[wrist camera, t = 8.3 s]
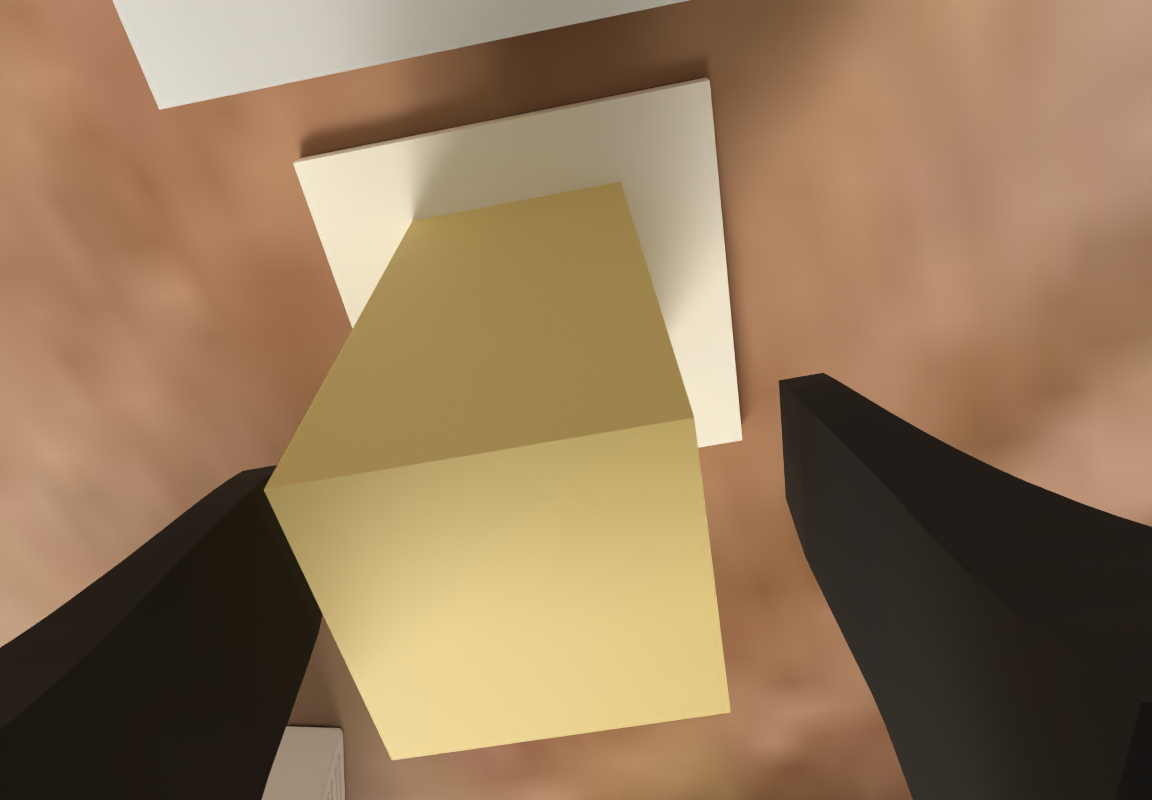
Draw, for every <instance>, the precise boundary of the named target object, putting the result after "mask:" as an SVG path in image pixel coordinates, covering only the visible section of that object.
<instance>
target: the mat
mask: <svg viewBox="0 0 1152 800" xmlns="http://www.w3.org/2000/svg"><path fill="white" fill-rule="evenodd" d="M293 164H294V167H295V170H296V172H297V175H298V178H299V181H300V184H301V186H302V189H303V192H304V195H305V198H306V200H307V203H308V206H309V209H310V211H311V214H312V217H313V220H314V223H315V225H316V228H317V231H318V234H319V236H320V239H321V242H322V245H323V248H324V250H325V253H326V256H327V259H328V262H329V264H330V267H331V270H332V273H333V275H334V278H335V281H336V284H337V287H338V289H339V292H340V295H341V298H342V301H343V303H344V306H345V309H346V312H347V314H348V317H349V320H350V323H351V326H352V328H353V327H354V325H355V324H356V322H357V320H358V318H359V316H360V315H361V313H362V311H363V309H364V307H365V305H366V304H367V302H368V300H369V298H370V296H371V295H372V293H373V291H374V289H375V287H376V286H377V284H378V282H379V280H380V278H381V276H382V275H383V273H384V271H385V269H386V267H387V266H388V264H389V262H390V260H391V258H392V257H393V255H394V253H395V251H396V249H397V248H398V246H399V244H400V242H401V240H402V238H403V237H404V235H405V233H406V231H407V229H408V228H409V226H410V224H411V222H412V221H415V220H420V219H425V218H431V217H436V216H441V215H446V214H452V213H457V212H462V211H468V210H473V209H478V208H483V207H489V206H494V205H499V204H505V203H510V202H515V201H520V200H526V199H531V198H536V197H542V196H547V195H552V194H557V193H563V192H568V191H573V190H578V189H584V188H589V187H594V186H600V185H605V184H610V183H615V182H621V184H622V188H623V191H624V194H625V197H626V200H627V204H628V207H629V210H630V213H631V216H632V220H633V223H634V226H635V229H636V232H637V236H638V239H639V242H640V245H641V248H642V252H643V255H644V258H645V261H646V264H647V268H648V271H649V274H650V277H651V280H652V284H653V287H654V290H655V293H656V296H657V300H658V303H659V306H660V309H661V312H662V316H663V319H664V322H665V325H666V328H667V332H668V335H669V338H670V341H671V344H672V348H673V351H674V354H675V357H676V360H677V364H678V367H679V370H680V373H681V376H682V380H683V383H684V386H685V389H686V392H687V396H688V399H689V402H690V405H691V408H692V412H693V415H694V419H695V427H696V435H697V443H698V447H704V446H710V445H716V444H722V443H728V442H734V441H740V440H742V431H741V420H740V409H739V398H738V387H737V376H736V365H735V354H734V343H733V332H732V321H731V310H730V299H729V288H728V276H727V265H726V254H725V243H724V232H723V221H722V210H721V199H720V188H719V177H718V166H717V155H716V144H715V133H714V122H713V110H712V99H711V88H710V80H709V79H707V78H701V79H696V80H691V81H686V82H681V83H676V84H671V85H666V86H661V87H656V88H650V89H645V90H640V91H635V92H630V93H625V94H620V95H615V96H610V97H605V98H600V99H595V100H590V101H585V102H580V103H575V104H570V105H565V106H560V107H555V108H550V109H545V110H540V111H535V112H530V113H525V114H520V115H515V116H510V117H505V118H500V119H495V120H490V121H485V122H480V123H475V124H470V125H465V126H460V127H455V128H450V129H445V130H439V131H434V132H429V133H424V134H419V135H414V136H409V137H404V138H399V139H394V140H389V141H384V142H379V143H374V144H369V145H364V146H359V147H354V148H349V149H344V150H339V151H334V152H329V153H324V154H319V155H314V156H309V157H304V158H299V159H298V160H296V161H295V162H294V163H293Z"/></svg>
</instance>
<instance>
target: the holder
mask: <svg viewBox="0 0 1152 800" xmlns="http://www.w3.org/2000/svg"><path fill="white" fill-rule="evenodd" d="M684 1H689V0H113V3H114V5H115V7H116V10H117V12H118V14H119V17H120V19H121V21H122V24H123V26H124V28H125V31H126V33H127V35H128V38H129V40H130V42H131V45H132V47H133V49H134V52H135V54H136V56H137V59H138V61H139V63H140V66H141V68H142V70H143V73H144V75H145V77H146V80H147V82H148V84H149V86H150V89H151V91H152V93H153V96H154V98H155V100H156V103H157V105H158V107H159V110H160V109H165V108H170V107H174V106H179V105H184V104H189V103H194V102H199V101H204V100H208V99H213V98H218V97H223V96H228V95H233V94H238V93H242V92H247V91H252V90H257V89H262V88H267V87H272V86H276V85H281V84H286V83H291V82H296V81H301V80H305V79H310V78H315V77H320V76H325V75H330V74H335V73H339V72H344V71H349V70H354V69H359V68H364V67H369V66H373V65H378V64H383V63H388V62H393V61H398V60H403V59H407V58H412V57H417V56H422V55H427V54H432V53H436V52H441V51H446V50H451V49H456V48H461V47H466V46H470V45H475V44H480V43H485V42H490V41H495V40H500V39H504V38H509V37H514V36H519V35H524V34H529V33H534V32H538V31H543V30H548V29H553V28H558V27H563V26H567V25H572V24H577V23H582V22H587V21H592V20H597V19H601V18H606V17H611V16H616V15H621V14H626V13H631V12H635V11H640V10H645V9H650V8H655V7H660V6H665V5H669V4H674V3H679V2H684Z"/></svg>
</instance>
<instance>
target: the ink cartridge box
mask: <svg viewBox="0 0 1152 800" xmlns="http://www.w3.org/2000/svg"><path fill="white" fill-rule="evenodd" d="M262 800H345V780H344V748H343V732H342V730H341V729H340V728H321V727H292V726H286V729H285V731H284V734H283V737H282V740H281V743H280V746H279V748H278V751H277V754H276V757H275V760H274V763H273V765H272V768H271V771H270V774H269V777H268V780H267V784H266V787H265V790H264V794H263V797H262Z"/></svg>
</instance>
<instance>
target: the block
mask: <svg viewBox="0 0 1152 800" xmlns="http://www.w3.org/2000/svg"><path fill="white" fill-rule="evenodd" d="M264 492H265V494H266V496H267V498H268V500H269V502H270V504H271V506H272V508H273V510H274V513H275V515H276V517H277V519H278V521H279V523H280V525H281V527H282V529H283V532H284V534H285V536H286V538H287V540H288V542H289V544H290V546H291V548H292V551H293V553H294V555H295V557H296V559H297V561H298V563H299V565H300V567H301V570H302V572H303V574H304V576H305V578H306V580H307V582H308V584H309V586H310V589H311V591H312V593H313V595H314V597H315V599H316V601H317V603H318V605H319V608H320V610H321V612H322V614H323V616H324V618H325V620H326V622H327V624H328V627H329V629H330V631H331V633H332V635H333V637H334V639H335V641H336V643H337V645H338V648H339V650H340V652H341V654H342V656H343V658H344V660H345V662H346V664H347V667H348V669H349V671H350V673H351V675H352V677H353V679H354V681H355V683H356V686H357V688H358V690H359V692H360V694H361V696H362V698H363V700H364V702H365V705H366V707H367V709H368V711H369V713H370V715H371V717H372V719H373V721H374V724H375V726H376V728H377V730H378V732H379V734H380V736H381V738H382V740H383V743H384V745H385V747H386V749H387V751H388V753H389V755H390V757H391V759H392V760H398V759H405V758H412V757H419V756H426V755H434V754H441V753H448V752H455V751H462V750H469V749H476V748H483V747H490V746H497V745H504V744H511V743H518V742H525V741H532V740H539V739H546V738H553V737H560V736H567V735H575V734H582V733H589V732H596V731H603V730H610V729H617V728H624V727H631V726H638V725H645V724H652V723H659V722H666V721H673V720H680V719H687V718H694V717H701V716H709V715H716V714H723V713H730V704H729V696H728V688H727V680H726V671H725V663H724V655H723V647H722V639H721V631H720V622H719V614H718V606H717V598H716V590H715V582H714V574H713V565H712V557H711V549H710V541H709V533H708V525H707V516H706V508H705V500H704V492H703V484H702V476H701V468H700V459H699V451H698V443H697V435H696V427H695V419H694V415H693V412H692V408H691V405H690V402H689V399H688V396H687V392H686V389H685V386H684V383H683V380H682V376H681V373H680V370H679V367H678V364H677V360H676V357H675V354H674V351H673V348H672V344H671V341H670V338H669V335H668V332H667V328H666V325H665V322H664V319H663V316H662V312H661V309H660V306H659V303H658V300H657V296H656V293H655V290H654V287H653V284H652V280H651V277H650V274H649V271H648V268H647V264H646V261H645V258H644V255H643V252H642V248H641V245H640V242H639V239H638V236H637V232H636V229H635V226H634V223H633V220H632V216H631V213H630V210H629V207H628V204H627V200H626V197H625V194H624V191H623V188H622V184H621V182H615V183H610V184H605V185H600V186H594V187H589V188H584V189H578V190H573V191H568V192H563V193H557V194H552V195H547V196H542V197H536V198H531V199H526V200H520V201H515V202H510V203H505V204H499V205H494V206H489V207H483V208H478V209H473V210H468V211H462V212H457V213H452V214H446V215H441V216H436V217H431V218H425V219H420V220H415V221H412V222H411V224H410V226H409V228H408V229H407V231H406V233H405V235H404V237H403V238H402V240H401V242H400V244H399V246H398V248H397V249H396V251H395V253H394V255H393V257H392V258H391V260H390V262H389V264H388V266H387V267H386V269H385V271H384V273H383V275H382V276H381V278H380V280H379V282H378V284H377V286H376V287H375V289H374V291H373V293H372V295H371V296H370V298H369V300H368V302H367V304H366V305H365V307H364V309H363V311H362V313H361V315H360V316H359V318H358V320H357V322H356V324H355V325H354V327H353V329H352V331H351V333H350V334H349V336H348V338H347V340H346V342H345V343H344V345H343V347H342V349H341V351H340V353H339V354H338V356H337V358H336V360H335V362H334V363H333V365H332V367H331V369H330V371H329V372H328V374H327V376H326V378H325V380H324V381H323V383H322V385H321V387H320V389H319V391H318V392H317V394H316V396H315V398H314V400H313V401H312V403H311V405H310V407H309V409H308V410H307V412H306V414H305V416H304V418H303V420H302V421H301V423H300V425H299V427H298V429H297V430H296V432H295V434H294V436H293V438H292V439H291V441H290V443H289V445H288V447H287V448H286V450H285V452H284V454H283V456H282V458H281V459H280V461H279V463H278V465H277V467H276V468H275V470H274V472H273V474H272V476H271V477H270V479H269V481H268V483H267V485H266V486H265V488H264Z"/></svg>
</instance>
